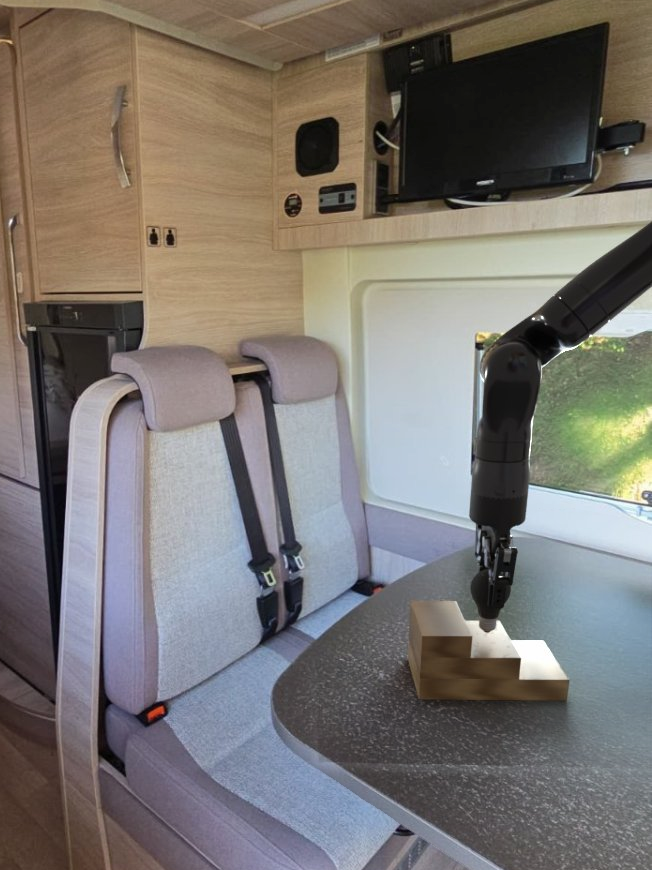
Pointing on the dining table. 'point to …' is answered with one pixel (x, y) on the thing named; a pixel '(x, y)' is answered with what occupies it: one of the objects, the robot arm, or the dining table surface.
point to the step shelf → (527, 688)
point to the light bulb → (485, 600)
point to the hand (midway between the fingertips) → (490, 598)
